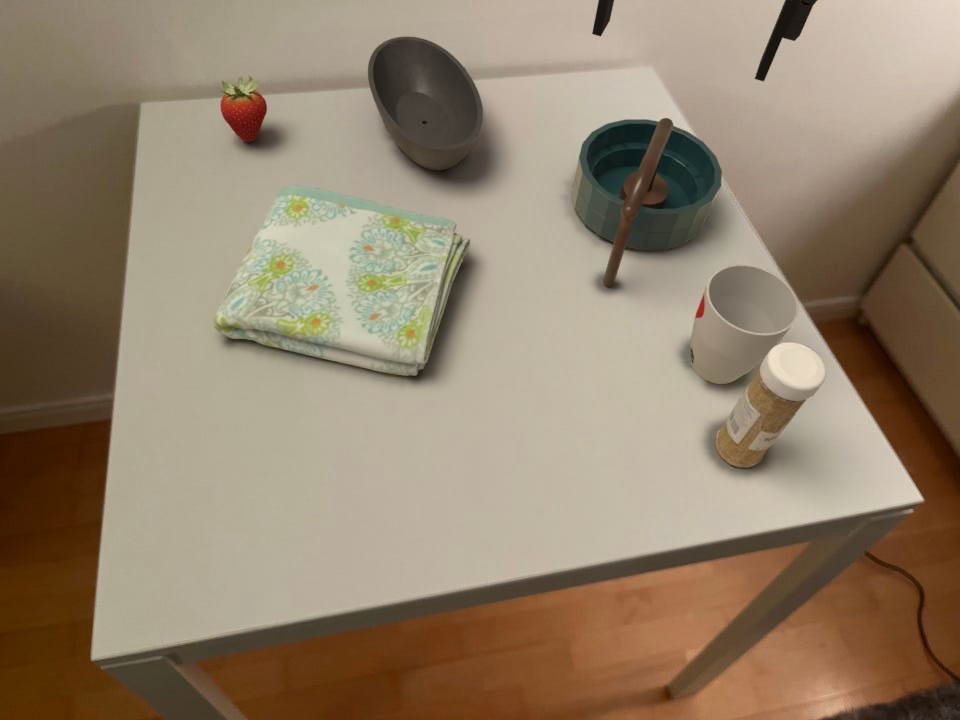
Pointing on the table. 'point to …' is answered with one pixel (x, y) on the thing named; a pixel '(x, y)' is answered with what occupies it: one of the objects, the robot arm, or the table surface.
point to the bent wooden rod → (640, 194)
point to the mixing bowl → (681, 167)
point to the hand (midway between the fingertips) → (679, 49)
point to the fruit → (243, 108)
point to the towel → (344, 281)
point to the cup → (739, 321)
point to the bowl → (425, 101)
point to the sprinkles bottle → (770, 403)
